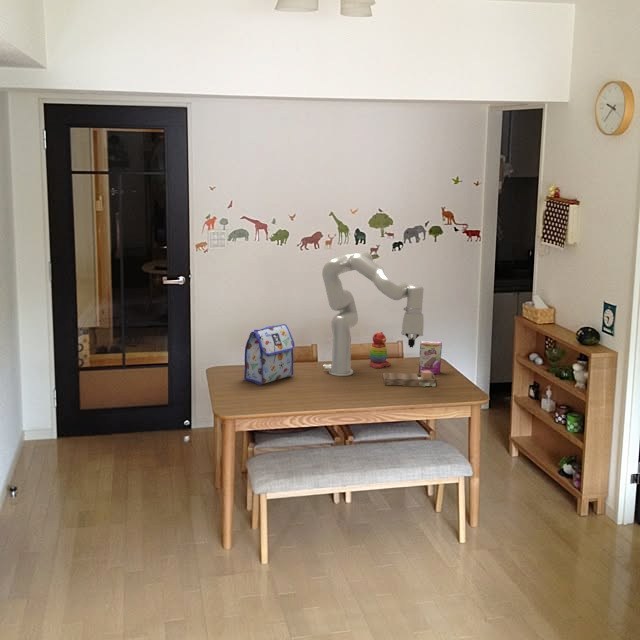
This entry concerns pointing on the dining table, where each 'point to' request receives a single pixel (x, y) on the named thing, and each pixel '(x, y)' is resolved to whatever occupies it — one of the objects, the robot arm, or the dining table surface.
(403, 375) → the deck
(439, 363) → the candy bar box
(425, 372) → the block
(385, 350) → the stacking bear
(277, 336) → the lunch bag
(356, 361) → the dining table surface
